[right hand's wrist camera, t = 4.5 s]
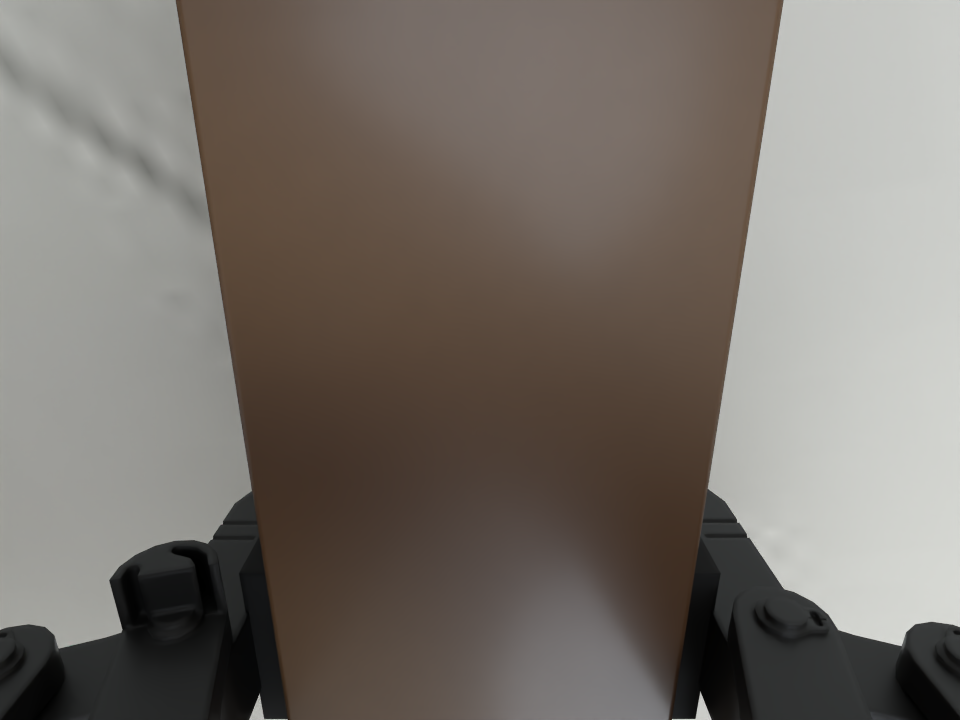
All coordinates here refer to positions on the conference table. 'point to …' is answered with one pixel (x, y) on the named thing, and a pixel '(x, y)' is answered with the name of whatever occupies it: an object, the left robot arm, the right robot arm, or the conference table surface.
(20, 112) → the conference table surface
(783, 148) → the conference table surface
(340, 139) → the beam
